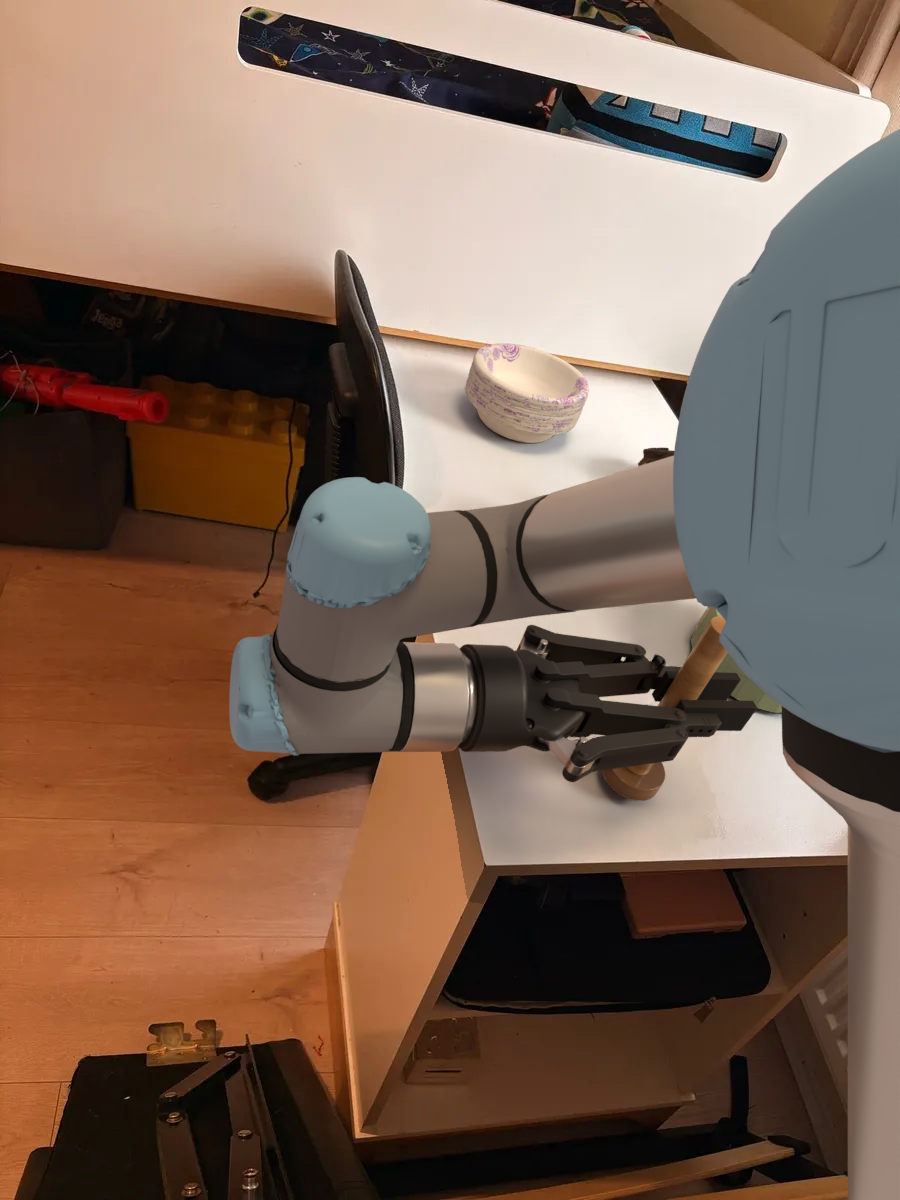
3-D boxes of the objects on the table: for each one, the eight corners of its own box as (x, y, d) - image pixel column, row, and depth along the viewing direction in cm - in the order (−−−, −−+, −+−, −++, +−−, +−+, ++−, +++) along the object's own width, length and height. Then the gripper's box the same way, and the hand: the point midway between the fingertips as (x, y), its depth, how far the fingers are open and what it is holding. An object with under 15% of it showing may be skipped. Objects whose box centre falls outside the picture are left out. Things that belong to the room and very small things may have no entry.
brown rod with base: (667, 800, 74) (770, 652, 63) (613, 801, 72) (710, 650, 61) (645, 751, 77) (739, 604, 66) (593, 752, 76) (681, 600, 65)
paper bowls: (482, 381, 124) (499, 328, 119) (582, 425, 122) (603, 373, 117) (440, 422, 113) (456, 365, 108) (549, 472, 110) (572, 416, 105)
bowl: (834, 717, 89) (867, 676, 86) (722, 716, 85) (752, 673, 81) (772, 624, 99) (800, 584, 95) (669, 619, 94) (693, 577, 90)
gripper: (423, 655, 70) (680, 663, 78) (467, 821, 60) (759, 811, 68) (448, 584, 66) (719, 600, 74) (501, 751, 55) (811, 749, 63)
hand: (738, 701), depth 71 cm, fingers closed on brown rod with base, 2 cm apart
